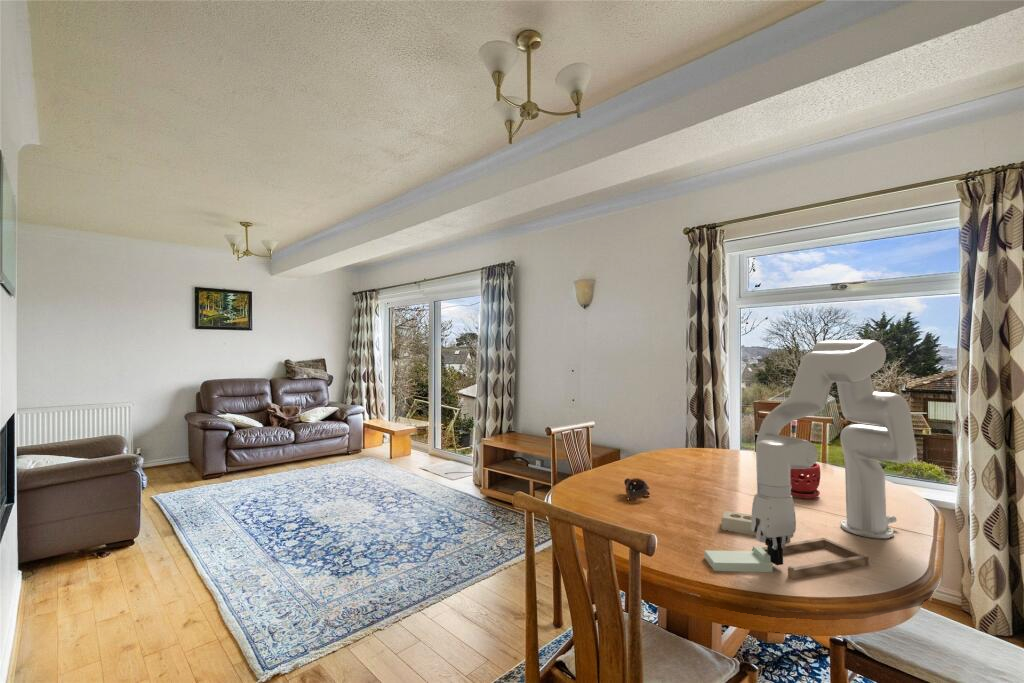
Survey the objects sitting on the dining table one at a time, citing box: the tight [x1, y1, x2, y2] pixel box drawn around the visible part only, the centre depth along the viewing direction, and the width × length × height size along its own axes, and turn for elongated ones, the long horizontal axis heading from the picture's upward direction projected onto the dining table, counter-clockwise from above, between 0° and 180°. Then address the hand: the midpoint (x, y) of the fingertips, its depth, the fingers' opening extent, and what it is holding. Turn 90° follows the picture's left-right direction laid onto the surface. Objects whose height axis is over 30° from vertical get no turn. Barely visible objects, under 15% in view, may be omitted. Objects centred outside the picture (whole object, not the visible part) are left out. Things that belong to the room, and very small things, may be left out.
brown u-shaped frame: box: [751, 537, 870, 580], centre depth 120 cm, size 24×12×2 cm, turn 106°
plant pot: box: [790, 462, 821, 500], centre depth 172 cm, size 13×13×12 cm
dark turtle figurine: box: [623, 477, 651, 500], centre depth 172 cm, size 12×10×8 cm
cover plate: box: [704, 545, 774, 573], centre depth 118 cm, size 14×7×4 cm, turn 86°
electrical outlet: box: [721, 510, 791, 542], centre depth 139 cm, size 7×4×18 cm
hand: (775, 562), depth 116 cm, fingers closed
